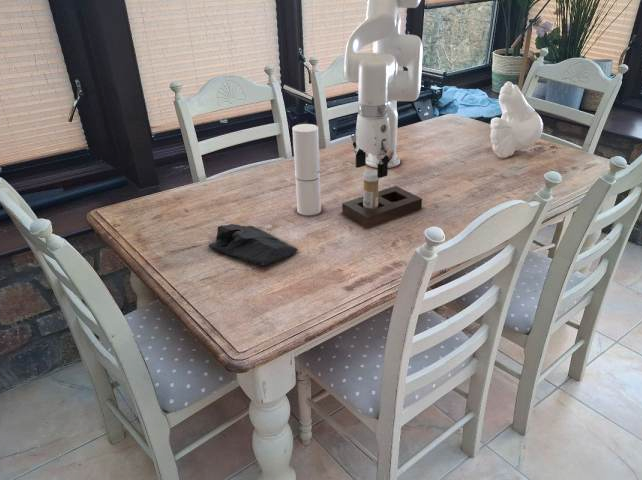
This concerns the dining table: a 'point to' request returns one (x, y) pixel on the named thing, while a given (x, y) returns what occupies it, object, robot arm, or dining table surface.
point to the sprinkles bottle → (370, 190)
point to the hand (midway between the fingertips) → (371, 171)
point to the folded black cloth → (250, 244)
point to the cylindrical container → (307, 168)
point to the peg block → (382, 207)
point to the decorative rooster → (514, 123)
